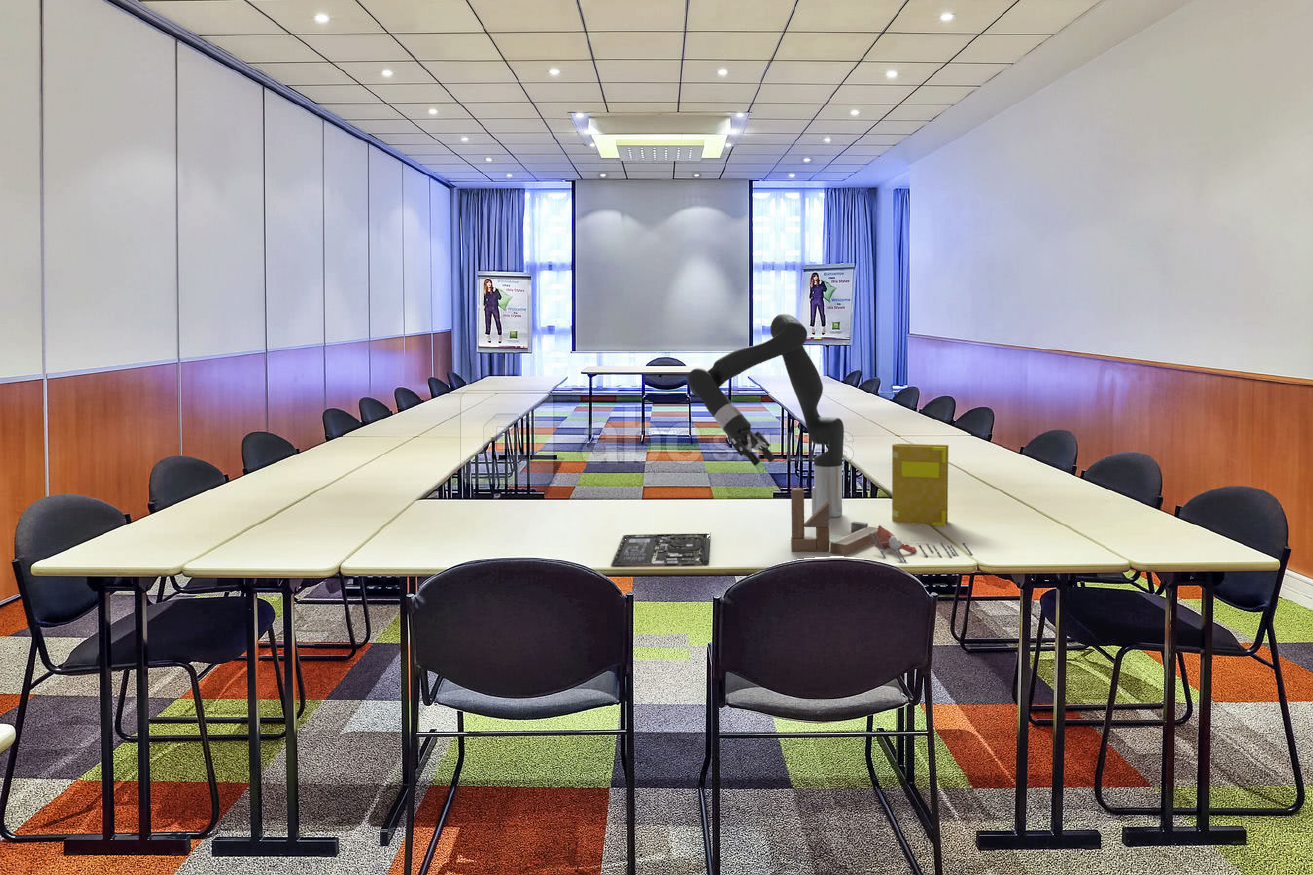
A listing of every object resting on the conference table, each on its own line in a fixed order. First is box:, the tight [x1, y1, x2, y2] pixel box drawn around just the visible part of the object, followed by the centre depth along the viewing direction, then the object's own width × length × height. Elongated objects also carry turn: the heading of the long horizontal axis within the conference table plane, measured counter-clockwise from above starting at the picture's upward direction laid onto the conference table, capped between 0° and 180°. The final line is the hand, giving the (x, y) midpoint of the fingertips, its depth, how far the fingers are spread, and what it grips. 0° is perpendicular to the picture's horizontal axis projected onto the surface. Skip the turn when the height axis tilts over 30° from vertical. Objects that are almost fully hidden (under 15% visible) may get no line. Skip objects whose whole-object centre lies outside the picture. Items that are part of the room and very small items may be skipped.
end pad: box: [814, 533, 846, 544], centre depth 281 cm, size 12×8×1 cm, turn 52°
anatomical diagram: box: [869, 524, 974, 564], centre depth 263 cm, size 21×9×25 cm
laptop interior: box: [610, 532, 711, 567], centre depth 274 cm, size 35×28×2 cm
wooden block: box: [790, 487, 830, 552], centre depth 269 cm, size 4×11×18 cm, turn 83°
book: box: [891, 443, 949, 527], centre depth 300 cm, size 17×7×25 cm, turn 65°
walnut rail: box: [829, 521, 878, 556], centre depth 275 cm, size 10×24×4 cm, turn 142°
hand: (765, 462), depth 276 cm, fingers open, 8 cm apart
